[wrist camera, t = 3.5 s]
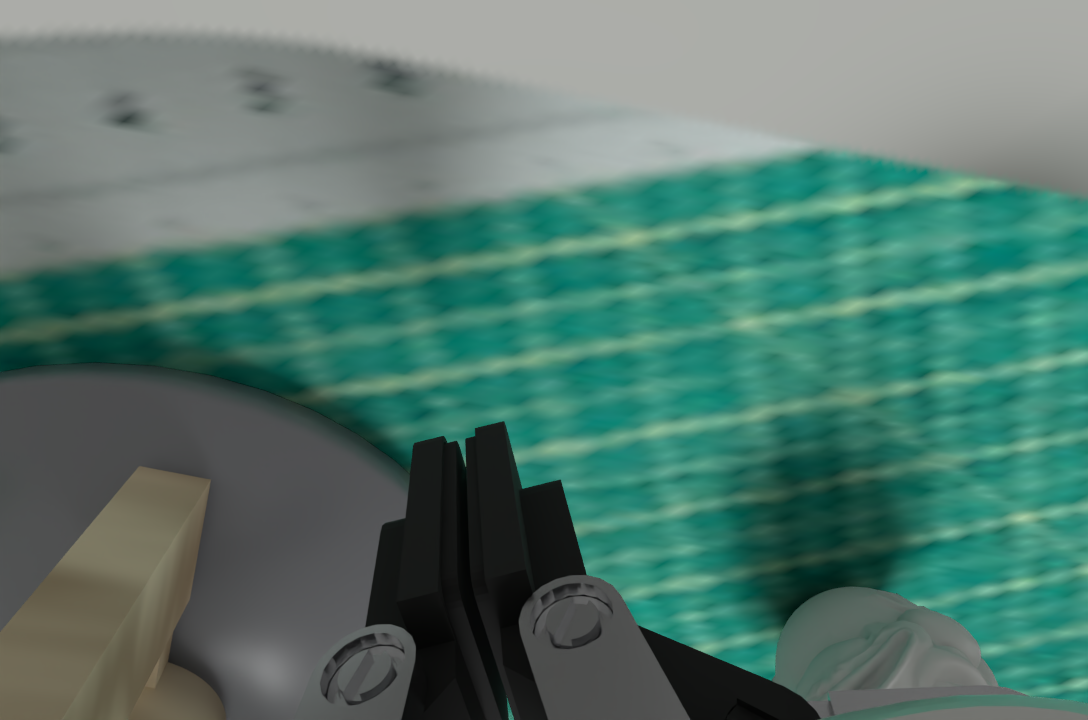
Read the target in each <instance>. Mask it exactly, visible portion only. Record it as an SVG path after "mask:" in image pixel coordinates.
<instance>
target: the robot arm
mask: <svg viewBox="0 0 1088 720" xmlns="http://www.w3.org/2000/svg"><path fill="white" fill-rule="evenodd" d="M465 443H466V467H465V463H464V460H463V457H462V453H461V450H460V447H459V444H458V442H457V441H454V442H450V443H447V441H446V438H445V437H444V436H441V437H437V438H433V439H429V440H425V441H421V442H417V443H414V445H413V453H412V462H411V471H410V480H409V490H408V499H407V508H406V517H405V518H403V519H399V520H395V521H391V522H387V523H384V524H383V525H382V528H381V532H380V538H379V544H378V550H377V557H376V563H375V569H374V575H373V581H372V588H371V594H370V600H369V606H368V612H367V619H366V625H365V628H361V629H359V630H357V631H355V632H353V633H351V634H349V635H347V636H345V637H344V638H342V639H341V640H340V641H338V642H337V643H336V644H334V645H333V646H332V647H331V648H330V649H329V650H328V651H327V652H326V653H325V654H324V656H323V657H322V658H321V659H320V660H319V662H318V664H317V665H316V667H315V669H314V671H313V672H312V674H311V677H310V679H309V682H308V684H307V687H306V689H305V692H304V694H303V697H302V699H301V702H300V704H299V707H298V709H297V712H296V714H295V717H294V719H293V720H509V719H508V707H507V698H508V701H509V704H510V707H511V710H512V714H513V717H514V720H1088V703H1082V702H1077V701H1072V700H1063V699H1053V698H1043V697H1032V696H1028V695H1025V694H1023V693H1020V692H1017V691H1015V690H1012V689H1009V688H1005V687H996V686H987V685H975V686H949V687H922V688H896V689H869V690H842V691H828V700H824V701H806V700H805V699H804V698H803V697H802V696H800V695H798V694H797V693H795V692H793V691H791V690H790V689H788V688H786V687H784V686H782V685H780V684H777V683H775V682H773V681H770V680H768V679H765V678H763V677H761V676H758V675H756V674H753V673H751V672H749V671H746V670H744V669H741V668H739V667H737V666H734V665H732V664H729V663H727V662H725V661H722V660H720V659H717V658H715V657H713V656H710V655H708V654H705V653H703V652H701V651H698V650H696V649H693V648H691V647H689V646H686V645H684V644H681V643H679V642H677V641H674V640H672V639H669V638H667V637H665V636H662V635H660V634H657V633H655V632H653V631H650V630H648V629H645V628H643V627H641V626H638V625H637V623H636V622H635V620H634V618H633V616H632V615H631V613H630V611H629V609H628V607H627V606H626V604H625V602H624V600H623V598H622V597H621V595H620V594H619V593H618V592H617V590H616V589H615V588H614V587H613V586H612V585H611V584H609V583H607V582H606V581H604V580H602V579H600V578H596V577H592V576H588V575H586V571H585V567H584V564H583V560H582V556H581V553H580V549H579V545H578V542H577V538H576V534H575V531H574V527H573V523H572V520H571V516H570V512H569V509H568V505H567V501H566V498H565V494H564V490H563V487H562V483H561V480H557V481H553V482H549V483H545V484H541V485H537V486H533V487H529V488H525V489H522V486H521V482H520V478H519V475H518V471H517V467H516V463H515V459H514V455H513V452H512V448H511V444H510V440H509V436H508V432H507V429H506V425H505V422H504V421H503V422H499V423H495V424H491V425H487V426H482V427H478V428H475V436H474V437H470V438H466V439H465ZM506 695H507V696H506Z"/></svg>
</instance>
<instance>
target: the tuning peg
mask: <svg viewBox="0 0 1088 720" xmlns="http://www.w3.org/2000/svg"><path fill="white" fill-rule="evenodd" d="M210 483H211V480H210V479H205V478H200V477H194V476H189V475H184V474H178V473H173V472H168V471H163V470H157V469H152V468H147V467H142V466H139V467H138V468H137V469H136V471H135V472H134V473H133V474H132V475H131V477H130V478H129V479H128V480H127V481H126V483H125V484H124V485H123V486H122V487H121V489H120V490H119V491H118V492H117V493H116V494H115V496H114V497H113V498H112V499H111V500H110V502H109V503H108V504H107V505H106V506H105V508H104V509H103V510H102V511H101V512H100V514H99V515H98V516H97V517H96V518H95V520H94V521H93V522H92V523H91V524H90V526H89V527H88V528H87V529H86V530H85V531H84V533H83V534H82V535H81V536H80V537H79V539H78V540H77V541H76V542H75V543H74V545H73V546H72V547H71V548H70V549H69V551H68V552H67V553H66V554H65V555H64V557H63V558H62V559H61V560H60V561H59V563H58V564H57V565H56V566H55V567H54V568H53V570H52V571H51V572H50V573H49V574H48V576H47V577H46V578H45V579H44V580H43V582H42V583H41V584H40V585H39V586H38V588H37V589H36V590H35V591H34V592H33V594H32V595H31V596H30V597H29V598H28V600H27V601H26V602H25V603H24V604H23V605H22V607H21V608H20V609H19V610H18V611H17V613H16V614H15V615H14V616H13V617H12V619H11V620H10V621H9V622H8V623H7V625H6V626H5V627H4V628H3V629H2V631H1V632H0V720H226V713H225V709H224V706H223V704H222V702H221V700H220V698H219V696H218V695H217V693H216V692H215V691H214V690H213V689H212V688H211V686H210V685H209V684H207V683H206V682H205V681H204V680H203V679H201V678H200V677H199V676H197V675H195V674H194V673H192V672H190V671H188V670H186V669H184V668H182V667H180V666H177V665H175V664H172V663H169V662H168V659H169V653H170V647H171V641H172V635H173V631H174V629H175V627H176V625H177V623H178V621H179V619H180V617H181V615H182V613H183V612H184V610H185V608H186V606H187V604H188V602H189V600H190V596H191V590H192V584H193V579H194V573H195V567H196V562H197V556H198V550H199V545H200V539H201V533H202V528H203V522H204V517H205V511H206V505H207V500H208V494H209V488H210Z"/></svg>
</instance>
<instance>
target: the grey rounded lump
mask: <svg viewBox="0 0 1088 720" xmlns="http://www.w3.org/2000/svg"><path fill="white" fill-rule="evenodd" d="M772 681H773V682H775V683H777V684H780V685H782V686H784V687H786V688H788V689H790V690H791V691H793V692H795V693H797V694H798V695H800V696H802V697H803V698H804V699H805V700H806V701H824V700H828V691H842V690H869V689H896V688H922V687H949V686H975V685H987V686H996V687H999V686H998V684H997V681H996V679H995V677H994V675H993V673H992V671H991V669H990V668H989V667H988V665H987V664H986V662H985V661H984V660H983V659H982V658H981V651H980V648H979V645H978V643H977V641H976V640H975V639H974V638H973V636H972V635H971V634H970V633H969V632H968V631H967V630H966V629H965V628H964V627H963V626H962V625H961V624H959V623H958V622H956V621H955V620H953V619H951V618H950V617H947V616H945V615H942V614H940V613H938V612H935V611H931V610H929V609H927V608H926V607H924V606H917V605H915V604H913V603H911V602H910V601H908V600H907V599H905V598H903V597H902V596H900V595H898V594H897V593H896V594H894V593H890V592H886V591H881V590H876V589H872V588H866V587H842V588H835V589H831V590H827V591H825V592H822V593H819V594H817V595H815V596H814V597H812V598H810V599H808V600H807V601H806V602H804V603H803V604H802V605H801V606H800V607H799V608H797V609H796V610H795V612H794V613H793V614H792V615H791V617H790V618H789V619H788V621H787V623H786V624H785V626H784V628H783V630H782V632H781V635H780V638H779V641H778V645H777V651H776V665H775V676H774V678H773V679H772Z"/></svg>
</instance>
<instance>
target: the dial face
mask: <svg viewBox="0 0 1088 720" xmlns="http://www.w3.org/2000/svg"><path fill="white" fill-rule="evenodd" d="M139 466H142V467H147V468H152V469H157V470H163V471H168V472H173V473H178V474H184V475H189V476H194V477H200V478H205V479H210V480H211V483H210V488H209V494H208V500H207V505H206V511H205V517H204V522H203V528H202V533H201V539H200V545H199V550H198V556H197V562H196V567H195V573H194V579H193V584H192V590H191V596H190V600H189V602H188V604H187V606H186V608H185V610H184V612H183V613H182V615H181V617H180V619H179V621H178V623H177V625H176V627H175V629H174V631H173V635H172V641H171V647H170V653H169V659H168V662H169V663H172V664H175V665H177V666H180V667H182V668H184V669H186V670H188V671H190V672H192V673H194V674H195V675H197V676H199V677H200V678H201V679H203V680H204V681H205V682H206V683H207V684H209V685H210V686H211V688H212V689H213V690H214V691H215V692H216V693H217V695H218V696H219V698H220V700H221V702H222V704H223V706H224V709H225V713H226V720H293V719H294V717H295V714H296V712H297V709H298V707H299V704H300V702H301V699H302V697H303V694H304V692H305V689H306V687H307V684H308V682H309V679H310V677H311V674H312V672H313V671H314V669H315V667H316V665H317V664H318V662H319V660H320V659H321V658H322V657H323V656H324V654H325V653H326V652H327V651H328V650H329V649H330V648H331V647H332V646H333V645H334V644H336V643H337V642H338V641H340V640H341V639H342V638H344V637H345V636H347V635H349V634H351V633H353V632H355V631H357V630H359V629H361V628H365V625H366V619H367V612H368V606H369V600H370V594H371V588H372V581H373V575H374V569H375V563H376V557H377V550H378V544H379V538H380V532H381V528H382V525H383V524H384V523H387V522H391V521H395V520H399V519H403V518H405V517H406V508H407V499H408V490H409V480H410V474H409V473H408V472H407V471H406V470H405V469H403V468H402V467H401V466H400V465H399V464H398V463H397V462H396V461H394V460H393V459H392V458H390V457H389V456H387V455H386V454H385V453H383V452H382V451H380V450H379V449H378V448H376V447H375V446H373V445H372V444H370V443H369V442H368V441H366V440H365V439H363V438H362V437H361V436H359V435H358V434H356V433H354V432H352V431H350V430H349V429H347V428H345V427H343V426H341V425H339V424H338V423H336V422H334V421H332V420H330V419H328V418H327V417H325V416H323V415H321V414H319V413H317V412H316V411H314V410H311V409H309V408H306V407H304V406H301V405H299V404H296V403H294V402H291V401H289V400H286V399H284V398H282V397H279V396H277V395H274V394H272V393H269V392H267V391H264V390H261V389H257V388H253V387H250V386H246V385H243V384H239V383H236V382H232V381H229V380H225V379H222V378H218V377H215V376H211V375H205V374H199V373H193V372H187V371H181V370H175V369H169V368H163V367H158V366H146V365H129V364H112V363H79V364H60V365H41V366H33V367H27V368H21V369H16V370H10V371H4V372H0V632H1V631H2V629H3V628H4V627H5V626H6V625H7V623H8V622H9V621H10V620H11V619H12V617H13V616H14V615H15V614H16V613H17V611H18V610H19V609H20V608H21V607H22V605H23V604H24V603H25V602H26V601H27V600H28V598H29V597H30V596H31V595H32V594H33V592H34V591H35V590H36V589H37V588H38V586H39V585H40V584H41V583H42V582H43V580H44V579H45V578H46V577H47V576H48V574H49V573H50V572H51V571H52V570H53V568H54V567H55V566H56V565H57V564H58V563H59V561H60V560H61V559H62V558H63V557H64V555H65V554H66V553H67V552H68V551H69V549H70V548H71V547H72V546H73V545H74V543H75V542H76V541H77V540H78V539H79V537H80V536H81V535H82V534H83V533H84V531H85V530H86V529H87V528H88V527H89V526H90V524H91V523H92V522H93V521H94V520H95V518H96V517H97V516H98V515H99V514H100V512H101V511H102V510H103V509H104V508H105V506H106V505H107V504H108V503H109V502H110V500H111V499H112V498H113V497H114V496H115V494H116V493H117V492H118V491H119V490H120V489H121V487H122V486H123V485H124V484H125V483H126V481H127V480H128V479H129V478H130V477H131V475H132V474H133V473H134V472H135V471H136V469H137V468H138V467H139Z"/></svg>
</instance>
